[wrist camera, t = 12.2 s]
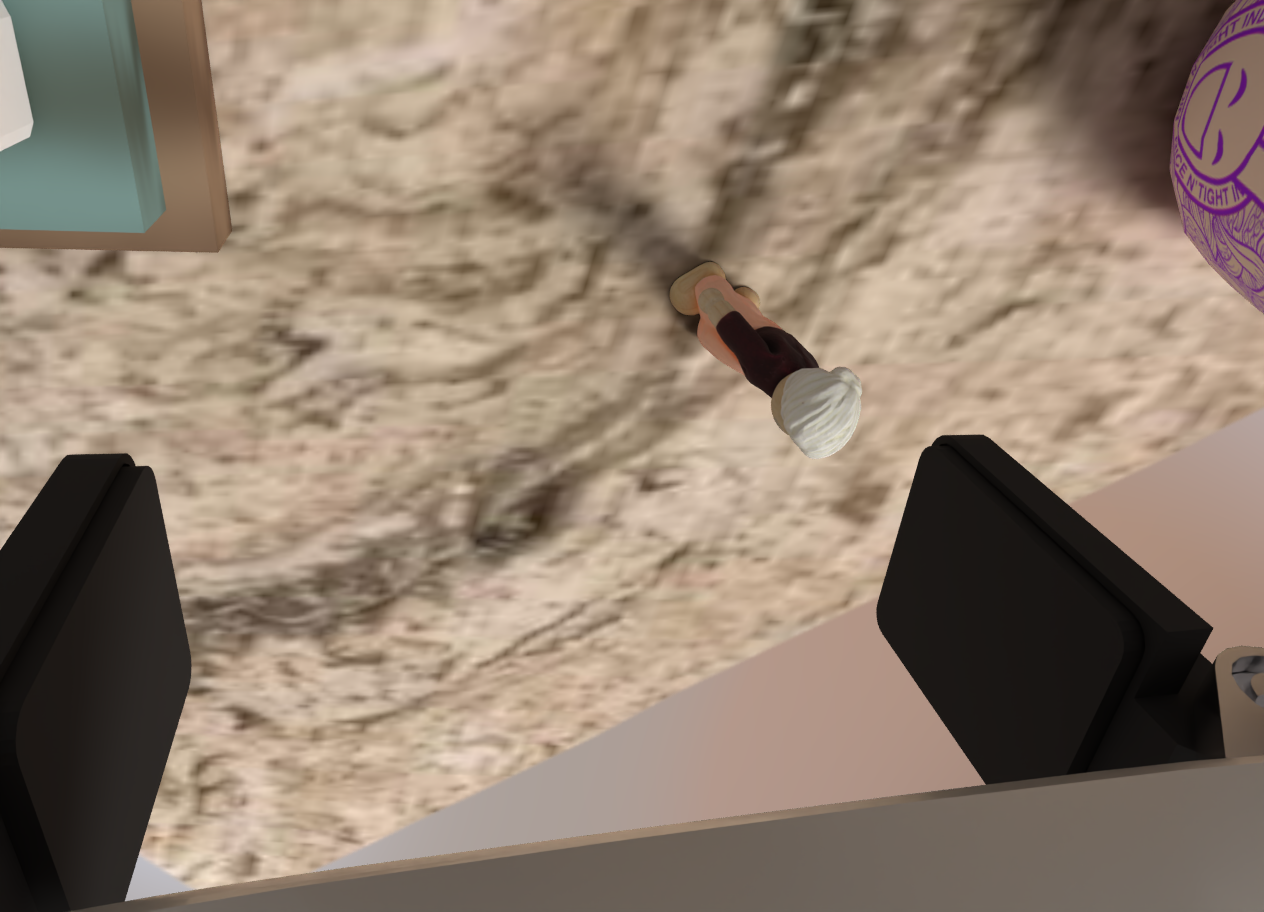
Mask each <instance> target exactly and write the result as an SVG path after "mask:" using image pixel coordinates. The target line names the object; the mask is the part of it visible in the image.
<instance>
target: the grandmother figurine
mask: <svg viewBox="0 0 1264 912" xmlns="http://www.w3.org/2000/svg"><path fill="white" fill-rule="evenodd" d="M670 300H671V303H672V304H673V306H674V307H675V308H676V309H677V310H678V311H679V312H680V313H682V314H685V315H695V314H698V313H699V314H700V317H701V319H700V321H699V325H698V330H697V335H698V338H699V341H700V343H701V344H702V346H703V347H705V348H706V349H707V350H708V351H709V352H710V353H711V354H712V355H713V356H715V357H716V358H717V359H718V360H720V361H721V362H723V363H724V364H726V365H727V366H729V367H731V368H732V369H734V370H736V371H738V372H739V373H741V374H743V375H745V377H746V378H747V380H748V381H749V382H750V383H751V384H753V385H754V386H756V387H758V388H759V389H761V390H762V391H764V392H765V393H766V394H767V395H769V396H770V397H771V398H772V400H771V410H772V414H773V417H774V420H775V422H776V423H777V425H778V426H779V428H780V429H781V430H782V431H783V432H785V433H786V434H787V435H789V436H790V438H791V439H792V440H793V441H794V443H795V444H796V445H797V446H798V447H799V448H800V450H801V451H802V452H803V453H804V454H805V455H806V456H808V457H809V458H812V459H821V458H824V457H828V456H830V455H832V454H834V453H835V452H837V451H838V450H840V449H841V448H842V447H843V446H844V445H845V444H846V443H847V442H848V440H849V439H850V438H851V436H852V434H853V432H854V430H855V428H856V425H857V423H858V420H859V415H860V411H861V401H860V397H861V394H862V388H861V382H860V379H859V378H858V377H857V376H856V375H855V374H854V373H853V372H852V371H851V370H850V369H848V368H846V367H837V368H835V369H833V370H832V371H831V372H828V371H826V370H824V369H821V368H819V366H818V364H817V362H816V360H815V359H814V357H813V356H812V355H811V354H810V353H809V352H808V351H807V350H806V349H805V348H804V347H803V346H802V345H801V344H800V343H799V342H798V341H797V340H796V339H795V338H794V337H793V336H792V335H791V334H788V333H786V332H785V331H784V330H782V329H781V328H780V327H779V326H778V325H777V324H776V323H774V322H773V321H771V320H769V319H768V318H766V317H764V316H763V315H762V313H761V312H760V310H759V306H760V299H759V296H758V295H757V293H756V292H754V291H753V290H751V289H749V288H747V287H740V288H737V289H735V290H733V288H732V286H731V285H730V284H729V283H728V282H727V281H726V277H725V273H724V272H723V270H722V269H721V267H720V266H719V265H718V264H716V263H714V262H706V263H704V264H701V265H700V266H698V267H696V268H695V269H693V270H691V271H689V272H688V273H686V274H684V275H683V276H681V277H679V278H678V279H677V280H676V281H675V282H674V283H673V285H672V287H671V289H670Z"/></svg>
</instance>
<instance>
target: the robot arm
mask: <svg viewBox="0 0 1264 912" xmlns="http://www.w3.org/2000/svg"><path fill="white" fill-rule="evenodd" d="M877 622H878V625H879V628H880V630H881V632H882V634H883V635H884V637H885V638H886V640H887V641H888V643H889V644H890V646H891V647H892V649H893V650H894V651H895V653H896V654H897V656H898V657H899V659H900V660H901V662H902V663H903V664H904V666H905V667H906V669H907V670H908V672H909V673H910V675H911V676H912V678H913V679H914V681H915V682H916V683H917V685H918V686H919V688H920V689H921V691H922V692H923V694H924V695H925V697H926V698H927V699H928V701H929V702H930V704H931V705H932V706H933V708H934V710H935V711H936V712H937V714H938V715H939V717H940V718H941V720H942V721H943V723H944V724H945V726H946V727H947V728H948V730H949V731H950V733H951V734H952V736H953V737H954V738H955V740H956V742H957V743H958V745H959V746H960V747H961V749H962V750H963V752H964V753H965V755H966V756H967V758H968V759H969V761H970V762H971V764H972V765H973V766H974V768H975V769H976V771H977V772H978V774H979V775H980V776H981V778H982V779H983V781H984V782H985V784H986V785H981V786H972V787H964V788H956V789H948V790H939V791H931V792H923V793H915V794H907V795H898V796H891V797H882V798H875V799H867V800H859V801H851V802H843V803H835V804H827V805H819V806H813V807H804V808H796V809H788V810H780V811H772V812H764V813H757V814H749V815H741V816H734V817H726V818H718V819H710V820H702V821H694V822H687V823H680V824H671V825H664V826H655V827H648V828H640V829H632V830H624V831H617V832H610V833H602V834H594V835H587V836H579V837H572V838H564V839H557V840H550V841H542V842H535V843H527V844H520V845H512V846H505V847H497V848H490V849H482V850H475V851H467V852H460V853H452V854H444V855H437V856H431V857H422V858H415V859H408V860H400V861H392V862H385V863H377V864H370V865H362V866H355V867H348V868H341V869H334V870H327V871H320V872H313V873H306V874H300V875H293V876H286V877H279V878H272V879H265V880H258V881H252V882H245V883H238V884H231V885H224V886H218V887H211V888H205V889H198V890H192V891H185V892H179V893H172V894H166V895H159V896H153V897H148V898H143V899H137V900H131V901H125V898H126V895H127V892H128V888H129V885H130V881H131V878H132V875H133V872H134V868H135V865H136V862H137V858H138V855H139V852H140V848H141V845H142V842H143V839H144V835H145V832H146V829H147V825H148V822H149V819H150V815H151V812H152V809H153V805H154V802H155V799H156V795H157V792H158V789H159V785H160V782H161V779H162V775H163V772H164V769H165V765H166V762H167V759H168V756H169V752H170V749H171V746H172V742H173V739H174V736H175V732H176V729H177V726H178V722H179V719H180V716H181V712H182V709H183V706H184V702H185V699H186V696H187V692H188V689H189V685H190V679H191V655H190V649H189V644H188V639H187V634H186V629H185V624H184V619H183V614H182V609H181V604H180V599H179V594H178V589H177V584H176V579H175V574H174V569H173V564H172V559H171V554H170V549H169V544H168V539H167V534H166V529H165V524H164V519H163V514H162V509H161V504H160V499H159V494H158V489H157V484H156V479H155V476H154V473H153V471H152V469H151V468H150V467H149V466H135V463H134V461H133V459H132V457H131V456H130V455H128V454H127V453H124V454H78V455H67V456H66V457H65V458H63V459H62V461H61V462H60V464H59V465H58V467H57V468H56V470H55V471H54V472H53V474H52V475H51V477H50V478H49V480H48V481H47V483H46V484H45V486H44V487H43V489H42V490H41V492H40V493H39V494H38V496H37V497H36V499H35V500H34V502H33V503H32V505H31V506H30V508H29V509H28V511H27V512H26V513H25V515H24V516H23V518H22V519H21V521H20V522H19V524H18V525H17V527H16V528H15V530H14V531H13V532H12V534H11V535H10V537H9V538H8V540H7V541H6V543H5V544H4V546H3V547H2V549H1V550H0V912H1264V648H1262V647H1250V646H1238V647H1232V648H1227V649H1225V650H1224V651H1223V652H1221V653H1220V654H1219V655H1218V656H1217V657H1216V659H1215V661H1214V663H1213V664H1211V662H1209V661H1208V660H1207V659H1206V658H1205V657H1204V656H1203V655H1202V654H1200V652H1201V650H1202V649H1203V647H1204V645H1205V643H1206V641H1207V639H1208V637H1209V635H1210V634H1211V632H1212V630H1213V627H1212V626H1210V625H1209V624H1208V623H1207V622H1206V621H1204V620H1203V619H1202V618H1201V617H1200V616H1199V615H1197V614H1196V613H1195V612H1194V611H1193V610H1191V609H1190V608H1189V607H1188V606H1187V605H1185V604H1184V603H1183V602H1182V601H1181V600H1180V599H1178V598H1177V597H1176V596H1175V595H1174V594H1172V593H1171V592H1170V591H1169V590H1168V589H1167V588H1166V587H1164V586H1163V585H1162V584H1161V583H1159V582H1158V581H1157V580H1156V579H1155V578H1154V577H1153V576H1151V575H1150V574H1149V573H1148V572H1147V571H1145V570H1144V569H1143V568H1142V567H1141V566H1139V565H1138V564H1137V563H1136V562H1135V561H1134V560H1132V559H1131V558H1130V557H1129V556H1128V555H1127V554H1125V553H1124V552H1123V551H1122V550H1121V549H1120V548H1118V547H1117V546H1116V545H1115V544H1114V543H1112V542H1111V541H1110V540H1109V539H1108V538H1107V537H1105V536H1104V535H1103V534H1102V533H1100V532H1099V531H1098V530H1097V529H1096V528H1095V527H1093V526H1092V525H1091V524H1090V523H1089V522H1087V521H1086V520H1085V519H1084V518H1083V517H1082V516H1081V515H1079V514H1078V513H1077V512H1076V511H1075V510H1073V509H1072V508H1071V507H1070V506H1069V505H1068V504H1066V503H1065V502H1064V501H1063V500H1062V499H1061V498H1059V497H1058V496H1057V495H1056V494H1055V493H1053V492H1052V491H1051V490H1050V489H1049V488H1048V487H1046V486H1045V485H1044V484H1043V483H1042V482H1040V481H1039V480H1038V479H1037V478H1036V477H1035V476H1033V475H1032V474H1031V473H1030V472H1029V471H1027V470H1026V469H1025V468H1024V467H1023V466H1022V465H1020V464H1019V463H1018V462H1017V461H1016V460H1015V459H1013V458H1012V457H1011V456H1010V455H1009V454H1007V453H1006V452H1005V451H1004V450H1003V449H1002V448H1000V447H999V446H998V445H997V444H996V443H994V442H993V441H992V440H991V439H990V438H988V437H986V436H985V435H942V436H940V437H938V438H937V439H936V440H935V441H934V442H933V444H932V446H929V447H927V448H925V449H924V451H923V452H922V454H921V456H920V459H919V462H918V465H917V469H916V472H915V476H914V479H913V483H912V486H911V490H910V493H909V496H908V500H907V503H906V507H905V510H904V514H903V517H902V521H901V524H900V527H899V531H898V534H897V538H896V541H895V545H894V548H893V552H892V555H891V558H890V562H889V565H888V569H887V572H886V576H885V579H884V583H883V586H882V589H881V593H880V596H879V600H878V604H877Z"/></svg>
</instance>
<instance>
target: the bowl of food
mask: <svg viewBox="0 0 1264 912" xmlns="http://www.w3.org/2000/svg"><path fill="white" fill-rule="evenodd" d="M1170 174H1171V178H1172V183H1173V187H1174V191H1175V196H1176V200H1177V204H1178V209H1179V213H1180V217H1181V221H1182V225H1183V229H1184V232H1185V234H1186V235H1187V236H1188V238H1189V239H1190V240H1191V241H1192V243H1193V244H1194V245H1195V247H1196V248H1197V249H1198V251H1199V252H1200V253H1201V254H1202V256H1203V257H1204V258H1205V260H1206V261H1207V262H1208V264H1209V265H1210V266H1211V267H1212V268H1213V269H1214V270H1215V271H1216V272H1217V273H1218V274H1219V275H1220V276H1221V277H1222V278H1223V279H1224V280H1225V281H1226V282H1227V283H1228V284H1229V285H1230V286H1231V287H1233V288H1234V289H1235V290H1236V291H1237V292H1238V293H1239V294H1241V295H1242V296H1243V297H1244V298H1245V299H1246V300H1248V301H1249V302H1250V303H1251V304H1252V305H1253V306H1255V307H1256V308H1257V309H1258V310H1260V311H1261V312H1262V313H1263V314H1264V0H1236V1H1235V2H1234V3H1233V4H1232V5H1231V6H1230V7H1229V8H1228V9H1227V10H1226V12H1225V14H1224V15H1223V17H1222V18H1221V20H1220V22H1219V23H1218V25H1217V27H1216V28H1215V30H1214V32H1213V33H1212V35H1211V37H1210V38H1209V40H1208V42H1207V43H1206V45H1205V47H1204V48H1203V50H1202V51H1201V53H1200V55H1199V56H1198V58H1197V60H1196V61H1195V63H1194V65H1193V67H1192V70H1191V73H1190V76H1189V79H1188V82H1187V84H1186V87H1185V90H1184V93H1183V96H1182V99H1181V102H1180V105H1179V107H1178V110H1177V113H1176V116H1175V119H1174V126H1173V137H1172V148H1171V159H1170Z"/></svg>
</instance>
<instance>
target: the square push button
mask: <svg viewBox="0 0 1264 912" xmlns="http://www.w3.org/2000/svg"><path fill="white" fill-rule="evenodd" d="M1 1H2V2H3V4H4V6H5V7H6V9H7V11H8V13H9V15H10V16H11V20H12V25H13V29H14V34H15V39H16V43H17V48H18V53H19V57H20V62H21V66H22V71H23V76H24V80H25V85H26V90H27V94H28V99H29V104H30V108H31V113H32V118H33V126H32V130H31V135H30V137H29V138H27V139H24V140H22V141H20V142H18V143H16V144H14V145H12V146H10V147H8V148H6V149H4V150H2V151H0V248H40V249H84V250H128V251H172V252H217V253H218V252H219V250H220V249H221V247H222V245H223V244H224V242H225V241H226V239H227V238H228V236H229V234H230V233H231V231H232V226H231V218H230V211H229V203H228V196H227V189H226V181H225V174H224V166H223V159H222V151H221V144H220V136H219V129H218V121H217V114H216V107H215V99H214V92H213V84H212V77H211V69H210V62H209V54H208V47H207V39H206V32H205V25H204V17H203V10H202V2H201V0H1Z"/></svg>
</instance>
